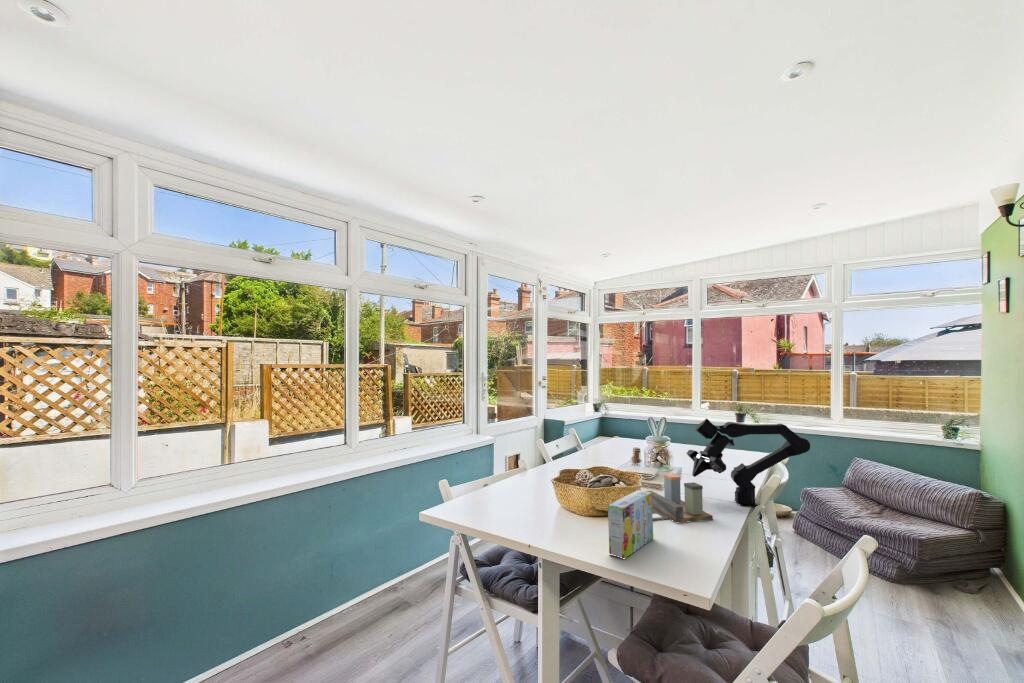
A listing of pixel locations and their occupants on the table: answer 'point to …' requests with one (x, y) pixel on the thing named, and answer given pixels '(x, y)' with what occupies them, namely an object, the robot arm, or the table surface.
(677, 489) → the orange-capped grey pillar
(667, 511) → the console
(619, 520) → the snack box
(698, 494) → the tall green block
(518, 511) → the table surface
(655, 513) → the card
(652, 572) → the table surface
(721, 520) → the table surface
